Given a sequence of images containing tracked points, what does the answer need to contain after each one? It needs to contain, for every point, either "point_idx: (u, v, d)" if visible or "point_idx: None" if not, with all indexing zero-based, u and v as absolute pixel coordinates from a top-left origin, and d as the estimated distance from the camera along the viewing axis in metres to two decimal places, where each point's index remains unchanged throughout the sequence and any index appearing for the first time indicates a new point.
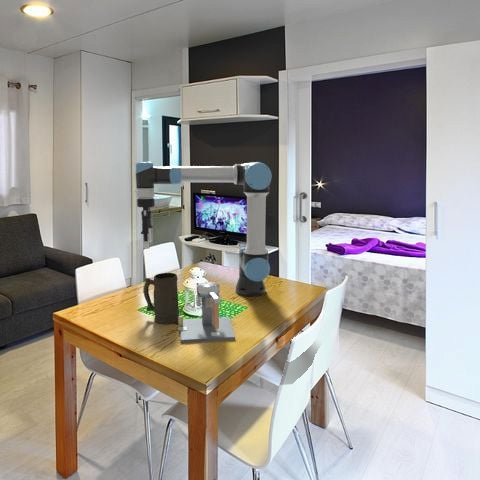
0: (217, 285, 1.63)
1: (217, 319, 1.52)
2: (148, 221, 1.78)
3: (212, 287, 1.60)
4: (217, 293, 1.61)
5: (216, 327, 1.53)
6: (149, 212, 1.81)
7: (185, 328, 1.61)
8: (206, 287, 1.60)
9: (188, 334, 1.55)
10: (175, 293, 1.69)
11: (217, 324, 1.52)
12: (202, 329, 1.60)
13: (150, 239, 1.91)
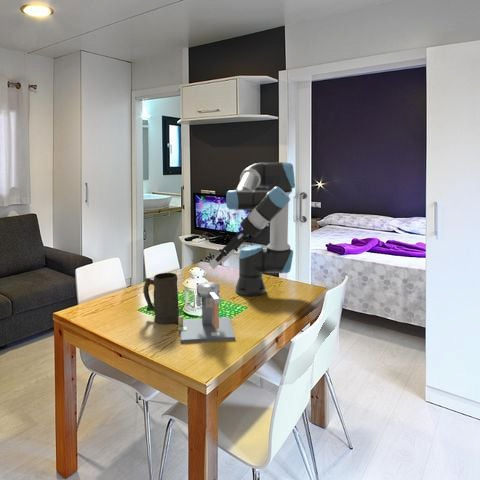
0: (217, 285, 1.63)
1: (217, 319, 1.52)
2: None
3: (212, 287, 1.60)
4: (217, 293, 1.61)
5: (216, 327, 1.53)
6: (241, 231, 1.54)
7: (185, 328, 1.61)
8: (206, 287, 1.60)
9: (188, 334, 1.55)
10: (175, 293, 1.69)
11: (217, 324, 1.52)
12: (202, 329, 1.60)
13: None
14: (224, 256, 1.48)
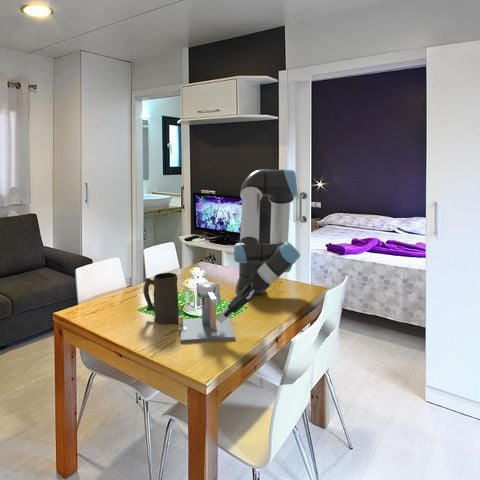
0: (217, 285, 1.63)
1: (214, 319, 1.52)
2: (239, 294, 1.54)
3: (211, 287, 1.60)
4: (216, 293, 1.61)
5: (213, 327, 1.52)
6: None
7: (185, 328, 1.61)
8: (205, 287, 1.60)
9: (188, 334, 1.55)
10: (175, 293, 1.69)
11: (214, 324, 1.52)
12: (202, 329, 1.60)
13: None
14: None
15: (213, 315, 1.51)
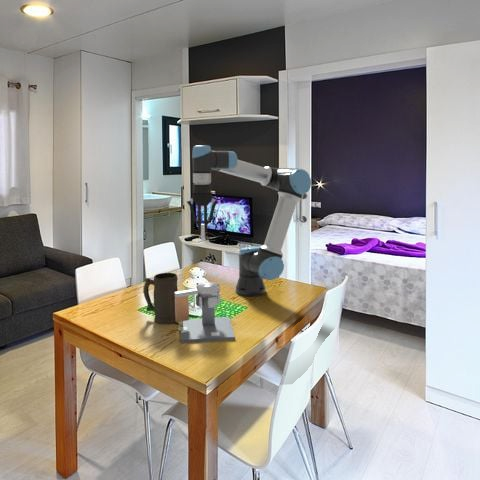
0: (209, 288, 1.59)
1: (176, 313, 1.58)
2: None
3: (200, 287, 1.61)
4: (203, 294, 1.59)
5: (175, 320, 1.59)
6: None
7: (185, 328, 1.61)
8: (201, 285, 1.63)
9: (188, 334, 1.55)
10: None
11: (176, 317, 1.59)
12: (202, 329, 1.60)
13: None
14: (201, 225, 1.74)
15: (175, 308, 1.58)
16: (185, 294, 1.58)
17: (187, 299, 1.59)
